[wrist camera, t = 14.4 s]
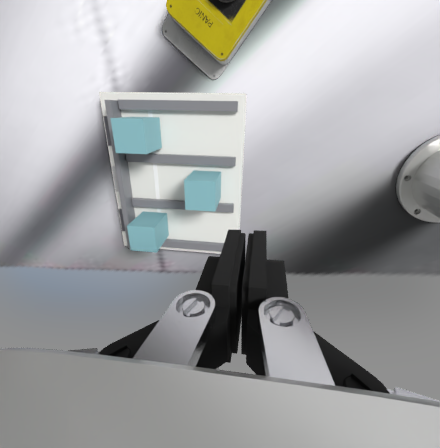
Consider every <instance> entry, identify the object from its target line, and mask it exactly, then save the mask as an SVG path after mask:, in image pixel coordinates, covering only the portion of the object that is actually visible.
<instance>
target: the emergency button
mask: <svg viewBox="0 0 440 448" xmlns="http://www.w3.org/2000/svg"><path fill="white" fill-rule="evenodd" d="M271 2H272V0H167V3H166V7H167V11H168V13H169V14H168V15H167V17H166V19H165V21H164V23H163V26H162V32H163V34H164V36H165V37H166V38H167V39H168V40H169V41H170V42H171V43H172V44H173V45H175V46H176V47H177V48H178V49H179V50H180V51H181V52H182V53H183V54H184V55H185V56H187V57H188V58H189V59H190V60H191V61H192V62H193V63H194V64H195V65H196V66H197V67H199V68H200V69H201V70H202V71H203V72H204V73H205V74H206V75H207V76H208V77H209V78H211V79H213V80H214V79H218V78H219V77H220V76H221V74H222V73H223V72H224V70H225V69H226V67H227V66H228V64H229V63H230V61H231V60H232V58H233V57H234V56H235V54H236V53H237V51H238V50H239V48H240V47H241V45H242V44H243V42H244V41H245V40H246V38H247V37H248V35H249V34H250V32H251V31H252V29H253V28H254V26H255V25H256V24H257V22H258V21H259V19H260V18H261V16H262V15H263V13H264V12H265V10H266V9H267V8H268V6H269V5H270V3H271Z"/></svg>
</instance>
